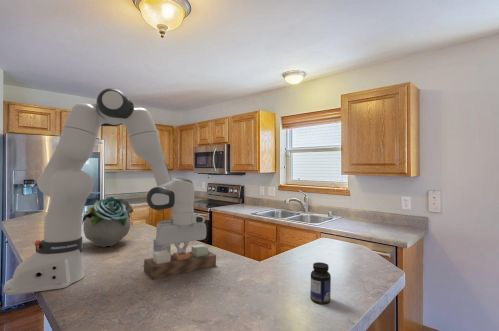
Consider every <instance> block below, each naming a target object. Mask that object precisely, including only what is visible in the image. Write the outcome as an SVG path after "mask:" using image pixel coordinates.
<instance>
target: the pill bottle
mask: <svg viewBox="0 0 499 331" xmlns="http://www.w3.org/2000/svg"><path fill="white" fill-rule="evenodd" d="M312 269H313V270H312V271H311V272H310V292H309V293H310V300H311V301H312V302H314V303H315V304H318V305H319V304H320V305H326V304H329V303H330V301H331V290H332V288H331V286H332V285H331V282H332V280H331V279H332V278H331V276H332V275H331V273H330V272H329V264H328V263H325V262H314V263H313V264H312Z"/></svg>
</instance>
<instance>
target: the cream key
mask: <svg viewBox="0 0 499 331" xmlns="http://www.w3.org/2000/svg"><path fill="white" fill-rule="evenodd" d="M171 255H172V254H171V252H170V253H169V252H168V251H166V250H165V251H158V252H153V251H152V258H153V262H154V263H155V264H162V263H167V262H170V260H171Z"/></svg>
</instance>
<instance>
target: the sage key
mask: <svg viewBox="0 0 499 331" xmlns="http://www.w3.org/2000/svg"><path fill="white" fill-rule="evenodd" d="M208 251H209V247H208V246H207V245H204V244H196V245H192V246H191V251H190V252H191V254H192V255H194V256H195V257H200V256H205V255H208Z"/></svg>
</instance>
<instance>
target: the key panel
mask: <svg viewBox="0 0 499 331" xmlns="http://www.w3.org/2000/svg"><path fill="white" fill-rule="evenodd" d="M186 252H187V253H189V254H190V258H189V259H183V260H178V261H177V260H176V259H174V258H173V254H171V260H170V262H167V263H162V264H155V263H154V262H153V257H151V258H144V260H143V262H144V264H143V265H144V266H143V272H144V273H145V274H146V275H147V276H148V277H149V278H150V279H151V280H152V281H153V280H154V281H155V280H158V279H162V278H163V279H164V278H166V277H171V276H177V275H181V274H186V273H190V272H195V271H199V270H200V271H201V270H205V269H208V268H214V267H216V266H217V254H215V253H212V252H210V251H209V250H208V255H205V256H200V257H195V256H194V255H192V254H191V251H186Z"/></svg>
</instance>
